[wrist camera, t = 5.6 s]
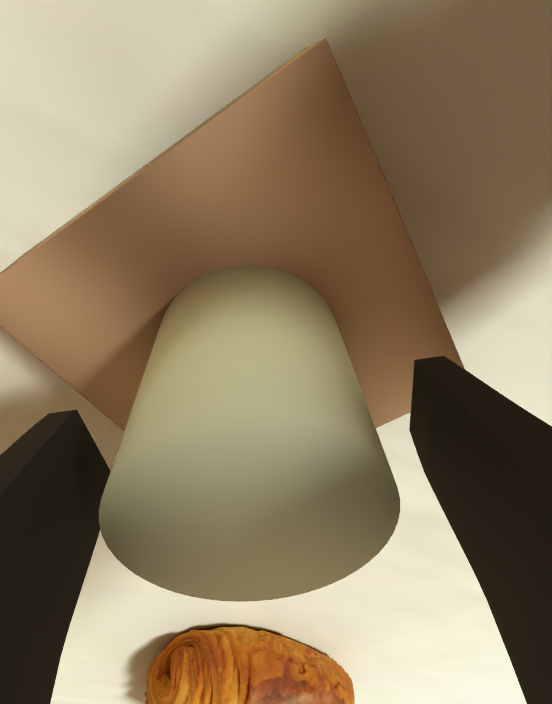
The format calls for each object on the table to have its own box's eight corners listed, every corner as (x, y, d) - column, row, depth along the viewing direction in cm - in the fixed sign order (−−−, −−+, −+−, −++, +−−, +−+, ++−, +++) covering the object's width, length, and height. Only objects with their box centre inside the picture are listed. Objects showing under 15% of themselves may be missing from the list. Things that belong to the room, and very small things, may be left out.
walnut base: (305, 48, 10) (325, 38, 8) (433, 334, 15) (471, 384, 13) (22, 255, 13) (-33, 298, 10) (214, 443, 18) (209, 503, 15)
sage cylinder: (321, 242, 10) (385, 384, 5) (350, 395, 13) (409, 574, 8) (127, 293, 10) (33, 464, 6) (196, 430, 13) (169, 619, 9)
